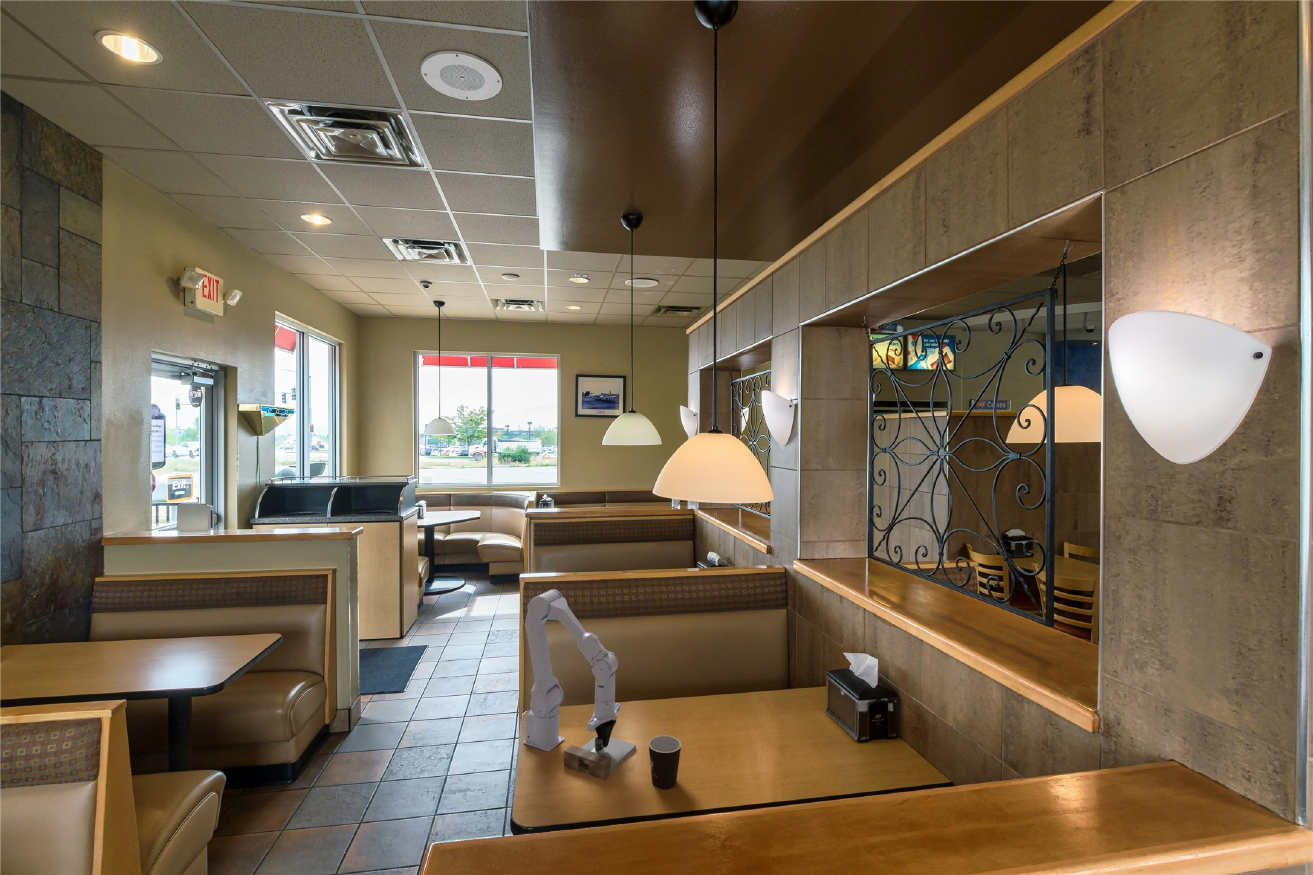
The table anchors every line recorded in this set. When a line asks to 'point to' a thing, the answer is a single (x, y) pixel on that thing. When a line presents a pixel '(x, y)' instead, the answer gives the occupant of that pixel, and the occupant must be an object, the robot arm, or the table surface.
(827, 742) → the table surface
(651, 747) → the coffee mug
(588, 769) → the block
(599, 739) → the bolt
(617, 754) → the door panel
